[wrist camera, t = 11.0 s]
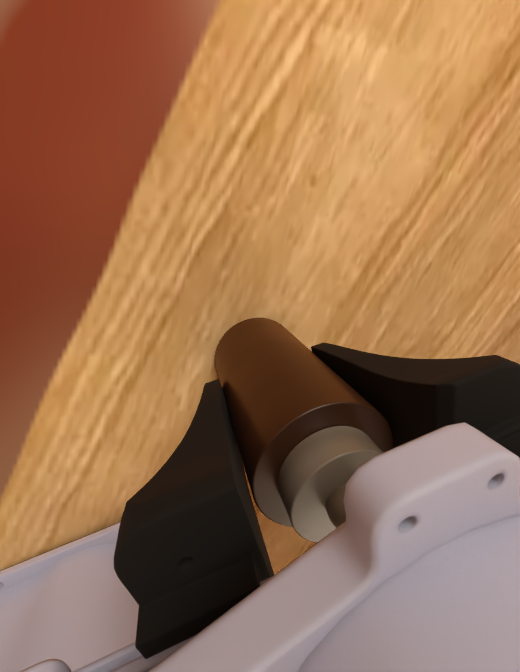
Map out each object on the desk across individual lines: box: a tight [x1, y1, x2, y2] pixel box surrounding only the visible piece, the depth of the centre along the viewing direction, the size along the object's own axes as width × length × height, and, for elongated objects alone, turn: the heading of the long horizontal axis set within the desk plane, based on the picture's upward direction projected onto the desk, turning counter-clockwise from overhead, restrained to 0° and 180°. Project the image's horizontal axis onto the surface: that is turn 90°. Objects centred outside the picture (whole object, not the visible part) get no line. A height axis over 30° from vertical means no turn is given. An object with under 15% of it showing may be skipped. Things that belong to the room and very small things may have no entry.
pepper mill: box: [215, 318, 393, 542], centre depth 11 cm, size 4×4×10 cm
